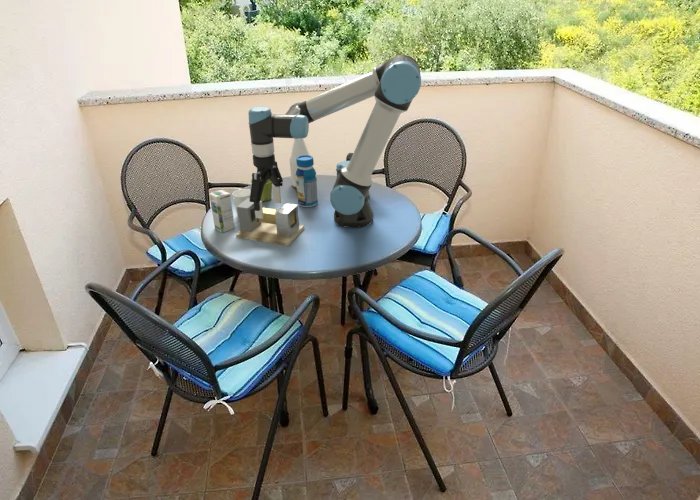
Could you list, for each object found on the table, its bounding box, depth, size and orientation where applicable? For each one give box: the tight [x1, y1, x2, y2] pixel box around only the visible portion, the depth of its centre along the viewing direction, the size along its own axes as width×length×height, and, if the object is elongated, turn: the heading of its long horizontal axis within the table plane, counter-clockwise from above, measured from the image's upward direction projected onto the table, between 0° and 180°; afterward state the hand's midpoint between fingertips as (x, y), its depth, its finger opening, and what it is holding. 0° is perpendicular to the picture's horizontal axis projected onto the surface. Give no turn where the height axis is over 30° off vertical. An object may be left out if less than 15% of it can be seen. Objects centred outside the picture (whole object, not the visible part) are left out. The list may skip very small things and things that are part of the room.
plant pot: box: [250, 178, 273, 202], centre depth 215 cm, size 9×9×9 cm
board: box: [235, 222, 305, 247], centre depth 190 cm, size 21×14×1 cm, turn 70°
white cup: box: [231, 188, 251, 218], centre depth 201 cm, size 8×8×10 cm
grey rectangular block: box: [275, 202, 300, 239], centre depth 185 cm, size 5×8×10 cm, turn 160°
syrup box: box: [209, 189, 236, 234], centre depth 191 cm, size 6×6×14 cm
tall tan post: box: [255, 206, 295, 226], centre depth 186 cm, size 14×4×4 cm, turn 70°
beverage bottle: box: [296, 154, 319, 208], centre depth 207 cm, size 8×8×20 cm
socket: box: [236, 198, 261, 232], centre depth 190 cm, size 4×8×10 cm, turn 160°
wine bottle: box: [289, 138, 311, 189], centre depth 222 cm, size 10×10×30 cm
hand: (268, 210), depth 185 cm, fingers open, 13 cm apart
